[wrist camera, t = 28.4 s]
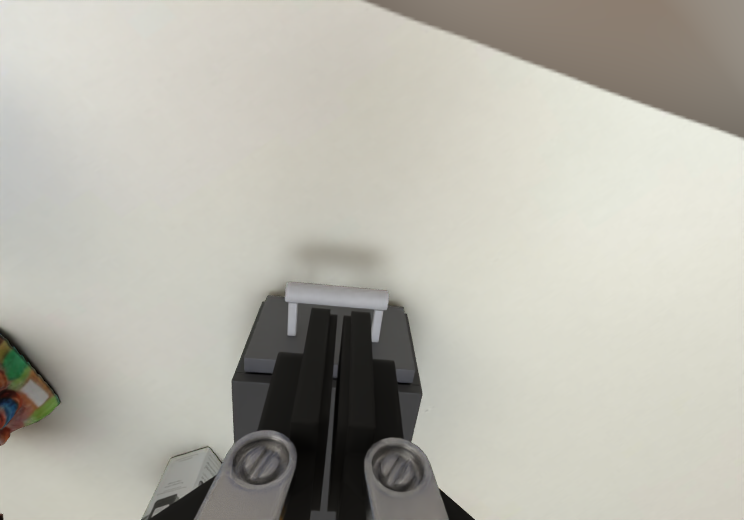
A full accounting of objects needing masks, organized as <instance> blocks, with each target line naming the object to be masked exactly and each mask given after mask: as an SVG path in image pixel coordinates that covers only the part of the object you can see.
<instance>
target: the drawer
mask: <svg viewBox="0 0 744 520" xmlns="http://www.w3.org/2000/svg"><path fill="white" fill-rule="evenodd" d="M388 302H389V292H388V291H387V290H378V289H366V288H355V287H344V286H333V285H321V284H310V283H299V282H287V285H286V290H285V297H280V296H267V298H266V301H265V304H264V306H263V309H262V312H261V314H260V317H259V320H258V322H257V325H256V328H255V330H254V333H253V336H252V338H251V341H250V344H249V346H248V349H247V351H246V354H245V357H244V371H245V372H258V373H259V375H272V374H273V370H274V366H275V362H276V359H277V355H278V353H279V352H291V353H303V352H304V347H305V341H306V336H307V330H308V325H309V319H310V314H311V309H312V307H313V308H325V309H331V311H330V314H336V315H338V317H337V330H336V343H335V355H334V368H333V378H337V371H338V362H339V353H340V344H341V334H342V325H343V316H344V315H348V316H351V311H361V312H370V314H371V335H372V356H373V359H384V360H394V362H395V368H396V376H397V384H398V382H401V383H413V378H414V373H415V367H414V361H413V356H412V351H411V345H410V340H409V334H408V329H407V323H406V318H405V313H404V307H397V306H388Z"/></svg>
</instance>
